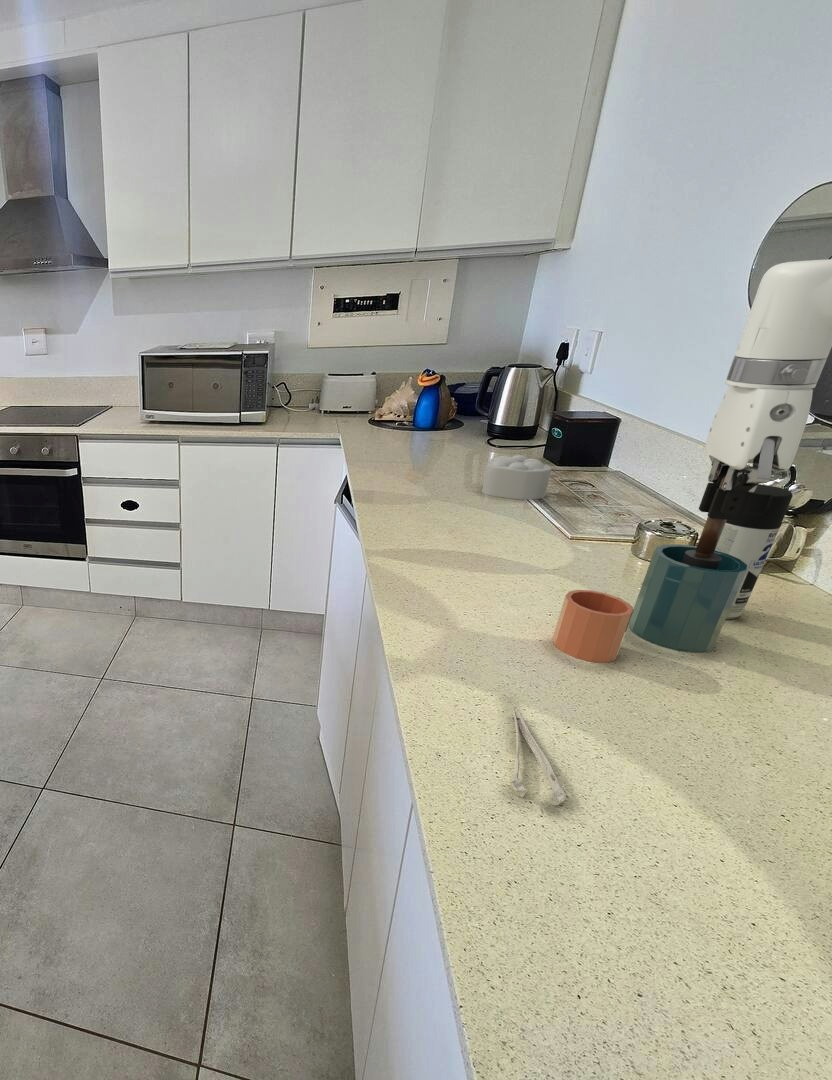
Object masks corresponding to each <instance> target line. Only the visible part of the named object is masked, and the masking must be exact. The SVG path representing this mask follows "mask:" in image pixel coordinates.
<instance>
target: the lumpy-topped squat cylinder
mask: <svg viewBox="0 0 832 1080" xmlns="http://www.w3.org/2000/svg"><path fill="white" fill-rule="evenodd" d="M552 471H553V469H552V467H551V466H549V465H548V464H544V463H543V462H542V461H541V460H540V459H537V458H528V457H526V456H524V455H522V454H515V455H513V456H508V455H498V456H496V457H493V458H489V460H488V462H487V465H486V470H485V475H484V480H483V484H482V488H481V493H482V494H483V495H484V494H485V495H487V496H492V497H496V498H497V497H498V498H504V499H512V500H523V501H525V500H530V501H531V500H539V499H540V500H541V499H544V498H545V497H546V494H547V490H548V485H549V481H550V477H551V474H552Z"/></svg>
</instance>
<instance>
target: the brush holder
mask: <svg viewBox="0 0 832 1080" xmlns="http://www.w3.org/2000/svg"><path fill="white" fill-rule="evenodd" d="M633 611H634V607H633V606H632V605H631V604H630V602H627V601H625V600H624V599H622V598H620V597H617V596H616V595H612V594H609V593H605V592H601V591H596V590H589V589H575V590H570V591H568V592H567V593H566V594H565V596H564V598H563V602H562V606H561V609H560V613H559V614H558V615H559V616H558V618H557V622H556V626H555V630H554V632H553V635H552V639H551V640H552V643H553V645H554V646H555V648H557V649H558V650H559V651H560V652H562V653H564V654H566V655H568V656H570V657H573V658H575V659H577V660H581V661H585V662H591V663H596V664H597V663H598V664H603V663H605V664H606V663H611V662H613V661H615V660H616V659H617V657H618V655H619V653H620V650H621V647H622V644H623V641H624V639H625V636H626V634H627V633H626V632H627V630H628V629H629V627H628V625H629V622H630V619H631V616H632V614H633Z"/></svg>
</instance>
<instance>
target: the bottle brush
mask: <svg viewBox="0 0 832 1080" xmlns="http://www.w3.org/2000/svg"><path fill="white" fill-rule="evenodd" d="M725 477H726V476H725ZM725 477H724V478H723V479H722V480H721V483H720V486H719V488H720V489H722V485H723V482H724V480H725ZM737 477H738V476H737ZM726 521H727V520H724V519H712V518H710V517H708V516H707V518H706V521H705V523H704V526H703V529H702V532H701V534H700V537H699V540H698V542H697V544H696V546H697V547H696V550H688V551H686V552H685V554H684V557H683V559H682V562H681V563H684V564H687V565H691V566H695V567H700V568H705V569H714V570H717V569H718V567H719V564H720V562H721V557H720V556H718V555H716V554H714V551H715V549H716V546H717V544H718V541H719V539H720V536H721V533H722V531H723V528H724V526H725V523H726Z"/></svg>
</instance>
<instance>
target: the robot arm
mask: <svg viewBox="0 0 832 1080" xmlns="http://www.w3.org/2000/svg"><path fill="white" fill-rule="evenodd" d="M746 319H747V320H746V322H745V324H744V325H745V326H744V328H743V331H742V334H741V336H740V339H739V342H738V344H737V348H736V350H735V353H734V356H733V358H732V361H731V365H730V367H729V371H728V374H727V376H726V379H725V381H724V385H727V386H728V387H727V389H726V391H725V393H724V395H723V397H722V400H721V402H720V404H719V406H718V408H717V411H716V412H715V415H714V418H713V420H712V423H711V425H710V428H709V431H708V435H707V438H706V440H705V445H704V450H705V452H706V453H707V454H708V457H709V460H710V462H711V465H710V466H711V469H710V471H709V474H708V478H707V481H708V482H707V484H706V487H705V490H704V492H703V495H702V498H701V500H700V503H699V506H698V510H699V512H701V513H707V518H708V517H710V518H712V519H724V520H740V519H741V518H742V516H743V514H744V511H745V509H746V506H747V504H748V501H749V499H750V496H751V494H752V492H754V491H755V490H756V487H757V485H758V484H765V483H769V482H770V481H771V476H772V470H773V471H775V472H781V473H783V472H786V471H787V470H788V471H789V470H790V468H791V467H792V464H793V463H794V460H795V457H796V455H797V452H798V449H799V446H800V443H801V441H802V437H803V434H804V432H805V428H806V425H807V423H808V418H809V414H810V411H811V405H812V402H813V392H814V389H815V388H816V386H817V384H818V382H819V380H820V377H821V375H822V371H823V369H824V367H825V364H826V362H827V360H828V358H829V355H830V352H831V350H832V258H831V259H811V260H795V261H786V262H780V263H777V264H775V265H773V266H771V267H770V268H769V269H767V271H766V272H765V273H764V274H763V276H762V277H761V280H760V283H759V285H758V288H757V291H756V293H755V297H754V299H753V303H752V305H751V308H750V310H749V314H748V317H747V318H746ZM749 464H752V465H749ZM725 476H726V477H725ZM737 476H738V477H737ZM724 477H725V480H724V482H723V485H722V489H720V488H719V486H720V483H721V480H722V479H723V478H724Z"/></svg>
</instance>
